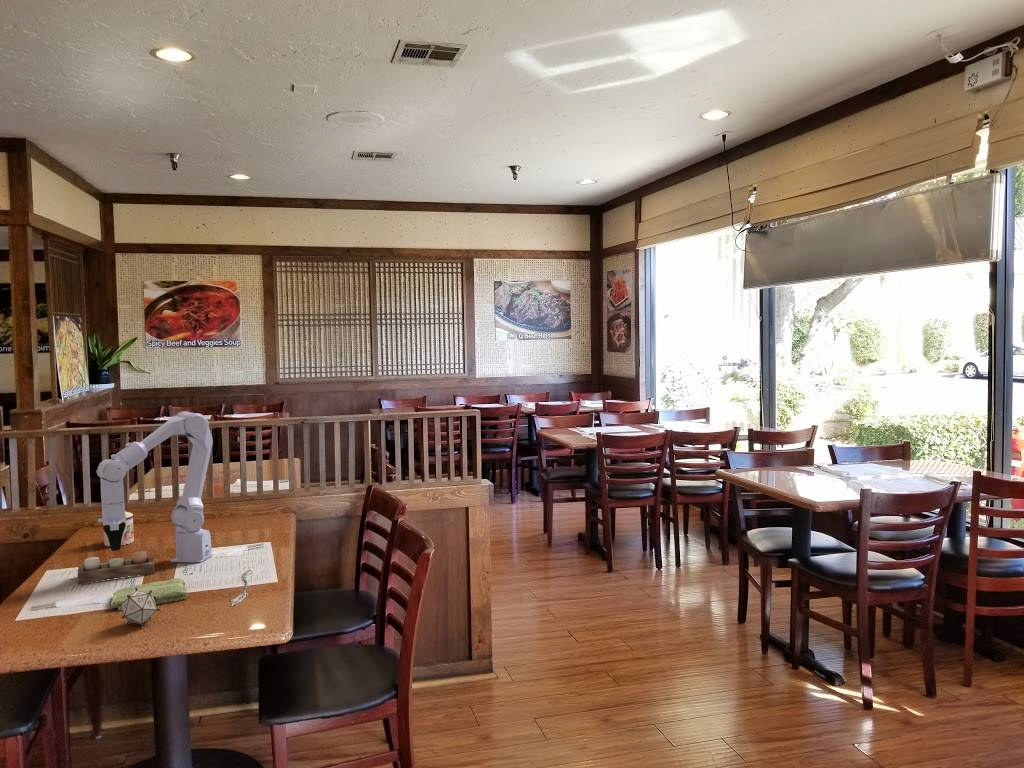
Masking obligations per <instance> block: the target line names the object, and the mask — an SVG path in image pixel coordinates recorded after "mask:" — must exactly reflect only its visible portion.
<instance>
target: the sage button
mask: <svg viewBox="0 0 1024 768" xmlns="http://www.w3.org/2000/svg"><path fill="white" fill-rule="evenodd" d="M123 560H124V558H123V557H117V558H111V559H109V560H108V562H109V568H110V567H118V566H124V563H123Z"/></svg>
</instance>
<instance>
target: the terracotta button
mask: <svg viewBox="0 0 1024 768" xmlns="http://www.w3.org/2000/svg"><path fill="white" fill-rule="evenodd" d="M147 554H148V553H147V551H146V550H138V551H135V552H132V559H133V563H143V562H146V561H147V557H148V556H147Z"/></svg>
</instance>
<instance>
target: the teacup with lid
mask: <svg viewBox="0 0 1024 768" xmlns="http://www.w3.org/2000/svg"><path fill="white" fill-rule="evenodd" d="M125 516H126V520H125V521H123V522H125V524H126V527H125V530H124V532H123V535H122V540H121V545H124V546H127V545H126V544H128V545H130V543H131V544H132V543H133V542H134V541H135V537H134V534H135V533H134V532H135V531H134V514H133V513H132V512H129V511H126V510H125ZM102 524H103V525H102V527H103V526H104V525H107V524H105V523H103V522H102ZM103 543H104V546H105V547H109V546H110V543H109V540H108V537H107V535H106V533H105V531H104V530H103Z"/></svg>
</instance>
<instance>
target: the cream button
mask: <svg viewBox="0 0 1024 768" xmlns="http://www.w3.org/2000/svg"><path fill="white" fill-rule="evenodd" d="M99 563H100V557H97V556H92V557H87V558H85V559H84V565H85V569H86V570H93V569H97V568H99V567H100V565H99Z"/></svg>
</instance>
